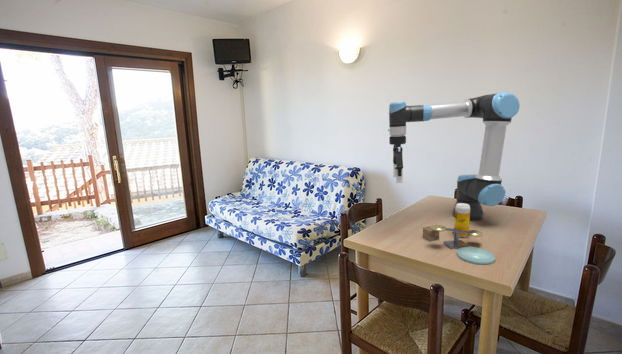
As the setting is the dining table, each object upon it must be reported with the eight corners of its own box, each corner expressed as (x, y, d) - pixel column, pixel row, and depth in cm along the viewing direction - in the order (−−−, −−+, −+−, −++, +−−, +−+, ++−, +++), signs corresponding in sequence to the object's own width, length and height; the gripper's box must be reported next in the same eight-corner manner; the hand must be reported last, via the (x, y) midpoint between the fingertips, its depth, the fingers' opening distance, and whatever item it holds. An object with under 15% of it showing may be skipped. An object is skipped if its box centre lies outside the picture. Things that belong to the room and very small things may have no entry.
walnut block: (431, 235, 138) (431, 225, 137) (439, 239, 133) (439, 229, 132) (422, 237, 137) (422, 227, 136) (429, 241, 132) (430, 231, 131)
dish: (481, 248, 122) (481, 245, 122) (502, 263, 109) (503, 260, 109) (451, 250, 122) (451, 247, 121) (468, 265, 109) (469, 262, 109)
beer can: (451, 233, 139) (452, 203, 136) (463, 232, 140) (465, 202, 137) (458, 238, 133) (460, 207, 130) (471, 237, 134) (473, 206, 131)
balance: (475, 240, 130) (476, 221, 128) (485, 246, 124) (486, 226, 122) (427, 243, 129) (427, 224, 128) (434, 250, 123) (434, 230, 121)
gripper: (387, 134, 150) (387, 175, 154) (391, 137, 126) (392, 185, 130) (402, 133, 149) (402, 174, 153) (409, 137, 125) (409, 185, 129)
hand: (397, 179), depth 141 cm, fingers open, 13 cm apart
